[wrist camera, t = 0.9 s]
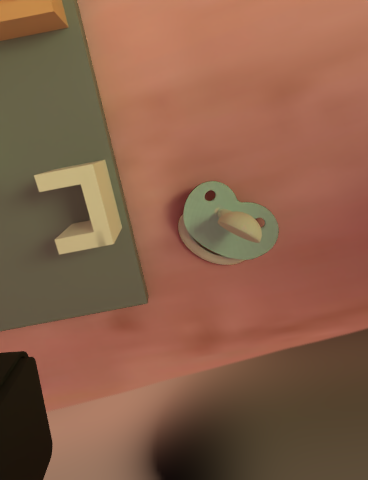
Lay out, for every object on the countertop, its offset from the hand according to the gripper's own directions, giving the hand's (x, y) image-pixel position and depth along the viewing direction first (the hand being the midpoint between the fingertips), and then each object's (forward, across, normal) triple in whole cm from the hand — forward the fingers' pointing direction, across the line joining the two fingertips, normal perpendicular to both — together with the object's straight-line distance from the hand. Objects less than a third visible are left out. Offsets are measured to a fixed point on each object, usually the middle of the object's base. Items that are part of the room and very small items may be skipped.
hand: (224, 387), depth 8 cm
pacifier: (+19, -3, +1) cm, 19 cm away
